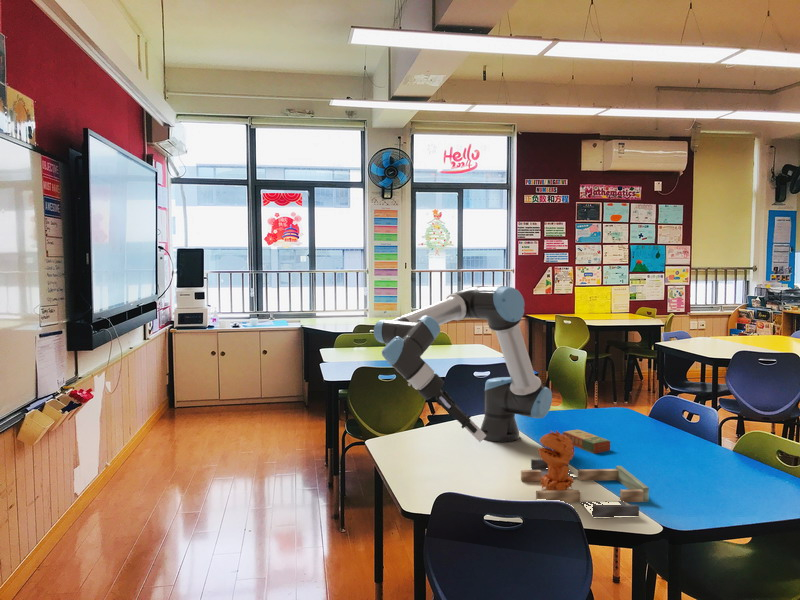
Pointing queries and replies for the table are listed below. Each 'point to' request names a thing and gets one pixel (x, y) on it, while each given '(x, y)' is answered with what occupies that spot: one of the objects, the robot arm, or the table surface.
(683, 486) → the table surface
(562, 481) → the orange sculpted figure
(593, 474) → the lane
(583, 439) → the carton
